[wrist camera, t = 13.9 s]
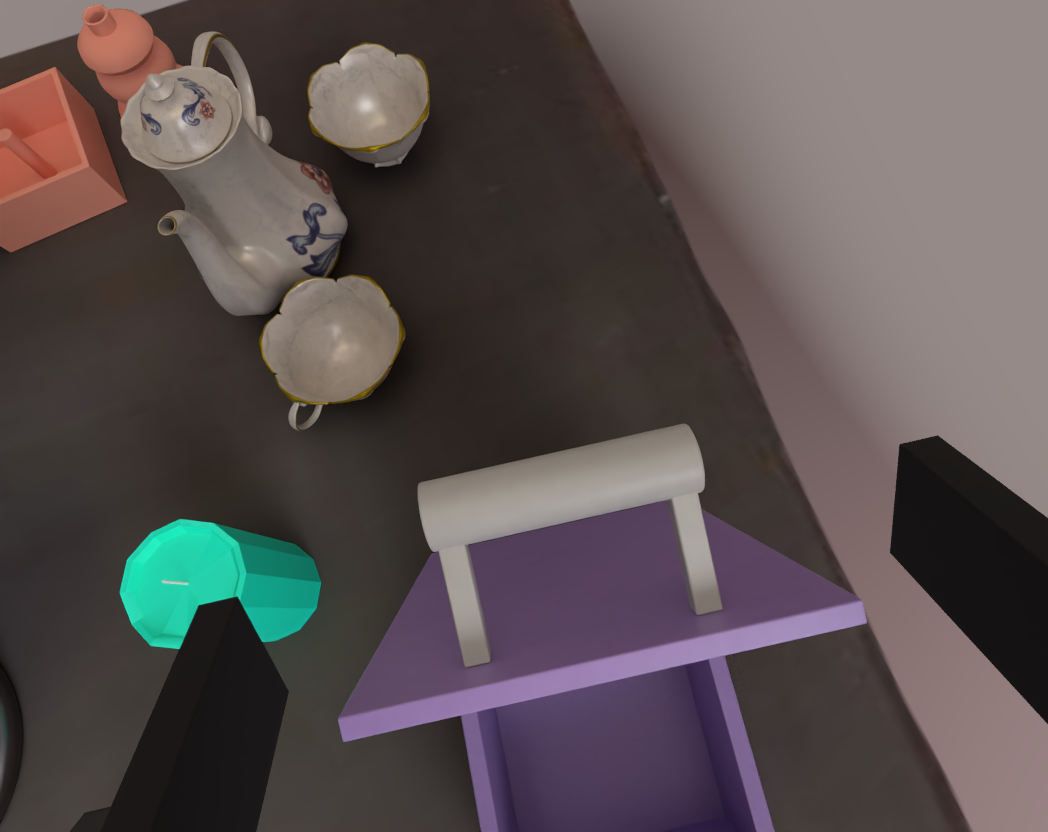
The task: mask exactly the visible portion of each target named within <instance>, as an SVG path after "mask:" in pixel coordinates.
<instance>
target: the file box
mask: <svg viewBox="0 0 1048 832" xmlns="http://www.w3.org/2000/svg"><path fill="white" fill-rule="evenodd" d="M461 720H462V726H463V732H464V738H465V743H466V749H467V755H468V761H469V766H470V772H471V778H472V784H473V789H474V795H475V801H476V807H477V812H478V818H479V824H480V830H481V832H775V831H774V827H773V824H772V820H771V817H770V813H769V810H768V806H767V803H766V799H765V796H764V792H763V789H762V785H761V782H760V778H759V775H758V771H757V768H756V764H755V761H754V757H753V754H752V750H751V747H750V743H749V740H748V736H747V733H746V729H745V726H744V722H743V719H742V715H741V712H740V708H739V705H738V701H737V698H736V694H735V691H734V687H733V684H732V680H731V677H730V673H729V669H728V666H727V662H726V659H725V656H720V657H716V658H712V659H707V660H703V661H698V662H694V663H690V664H685V665H681V666H676V667H672V668H668V669H663V670H659V671H654V672H650V673H645V674H641V675H637V676H632V677H628V678H623V679H619V680H615V681H610V682H606V683H601V684H597V685H593V686H588V687H584V688H579V689H575V690H570V691H566V692H562V693H557V694H553V695H548V696H544V697H540V698H535V699H531V700H526V701H522V702H518V703H513V704H509V705H504V706H500V707H495V708H491V709H487V710H482V711H478V712H473V713H469V714H465V715H461Z"/></svg>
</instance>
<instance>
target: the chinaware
mask: <svg viewBox="0 0 1048 832" xmlns="http://www.w3.org/2000/svg"><path fill="white" fill-rule="evenodd" d="M212 43H213V44H214V45H215V46H216V47H217V48H218V49H219V50H220V51H221V53H222V54H223V56H224V57H225V59H226V61H227V63H228V65H229V67H230V69H231V71H232V73H233V76H234V78H235V81H236V84H237V87H238V90H237V88H236V87H235V86H234V85H233V83H232V81H231V80H230V79H229V77H227V76H225V75H223V74H220V73H218V72H217V71H215V70H214V69H212V68H209V67H205V65H206V61H207V57H208V53H209V50H210V47H211V45H212ZM339 62H340V65H339V64H338V63H337V62H334V63H331V64H326V65H323V66H321V67H320V68H319V69H317V70H316V71H315V72H314V73H313V74H312V75H311V76H310V79H309V84H308V88H307V94H308V100H309V106H310V107H311V108H310V109H309V113H308V121H309V124H310V129H311V131H312V133H313V134H314V135H316V136H318V137H320V138H322V139H323V140H325V141H326V142H329V143H331V144H333V145H335V146H338V147H339V148H340V149H341V150H342V151H344V152H345V153H346V154H348V155H349V156H351V157H353V158H355V159H357V160H360V161H363V162H367V163H373V164H374V165H375V167H379V166H391V165H395V164H401V163H402V160H403V159H404V158H405V157H406V155H407V153H408V151H409V150H410V149H411V148H412V147H413V145H414V144H415V142H416V141H417V139H418V137H419V135H420V133H421V130H422V127H423V123H424V122H425V121H426V120H427V118H428V115H429V107H430V93H428V92H429V81H428V74H427V71H426V69H425V65H424V63H423V61H422V60H420V59H418V58H416V57H414V56H413V55H411V54H397V56H395V53H394V52H393V51H391V50H389V49H387V48H386V47H384V46H382V45H380V44H374V43H368V42H364V43H361V44H360V45H357V46H354V47H352V48H350V49H349V50H348V51H347V52H346V53H345V54H344V56H343V57H342V58H341V59H340V60H339ZM241 103H242V105H241ZM242 109H243V112H242ZM121 128H122V141H123V143H124V144H125V146H126V147H127V148H128V150H129V152H130V154H131V155H132V157H134V158H135V159H137V160H139V161H141V162H142V163H144V164H146V165H147V166H149V167H152V168H155V169H157V170H158V171H160V172H161V173H162V174H163V175H164V176H165V177H166V178H167V180H168V181H169V182H170V183H171V184H172V186H173V187H174V188H175V189H176V191H177V192H178V193H179V195H180V196H181V198H182V200H183V202H184V204H185V211H183V210H175V211H171V212H169V213H168V214H166V215H165V216H164V217H162V218H161V220H160V221H159V222H158V225H157V230H158V232H159V233H160V234H161V235H163V236H169V235H173V234H178V235H179V237H180V238H181V239H182V241H183V243H184V244H185V246H186V248H187V249H188V251H189V253H190V255H191V256H192V258H193V260H194V262H195V264H196V265H197V269H198V273H199V275H200V278H201V279H202V281H203V282H204V283H206V285H207V287H208V288H209V290H210V292H211V294H212V295H213V296H214V298H215V299H216V300H217V302H218V303H219V304H220V305H221V306H222V307H223V308H224V309H225V310H226V311H228V312H229V313H230V314H232V315H235V316H242V315H264V314H268V313H270V312H272V311H273V310H274V309H275V308H276V307H277V306H278V305H279V303H280V302H282V303H281V306H280V308H279V312H280V314H275V315H274V316H273V317H272V318H271V319H270V320H269V321H268V322H267V323H266V324H265V326H264V328H263V331H262V334H261V336H260V338H259V340H258V344H259V348H260V350H261V355H262V358H263V360H264V362H265V363H266V365H267V366H268V368H269V369H270V371H271V372H272V373H273V374H276V375H275V376H274V378H275V380H276V382H277V385H278V387H279V389H280V390H281V391H282V392H283V393H284V394H285V395H286V397H287V398H288V399H289V400H290V401H292V402H294V404H293V405H292V407H291V409H290V411H289V416H288V418H289V423H290V425H291V426H292V427H293V428H294V429H296V430H298V431H303V430H306V429H308V428H309V427H311V426H312V425H313V424H314V423H315V421H316V420H317V419H318V417H319V415H320V412H321V409H322V406H323V405H325V404H331V403H332V404H339V403H348V402H352V401H355V400H362V399H365V398H367V397H368V396H370V395H371V394H372V392H373V390H375V389H376V388H377V387H378V386H379V385H380V384H381V383H382V382H383V381H384V379H385V378H386V377H387V374H389V372H390V370H391V367H392V365H393V363H394V361H395V359H396V357H397V356H398V354H399V351H400V349H401V346H402V343H403V341H404V339H405V328H404V327H403V324H402V321H401V318H400V316H399V315H398V313H397V312H396V310H395V309H394V307H391V303H390V301H389V299H388V298H387V296H386V294H385V292H384V291H383V289H382V288H381V287H380V286H379V285H378V284H377V283H376V282H375V281H374V280H373V279H372V278H371V277H368V276H360V275H352V274H351V275H347V276H344V277H340V278H338V279H337V282H336V281H335V279H334V278H328V277H329V275H330V274H331V273H332V271H333V269H334V268H335V266H336V264H337V261H338V258H339V255H340V250H341V240H342V238H343V237H344V235H345V233H346V230H347V226H348V223H347V218H346V216H345V214H344V213H343V211H342V209H341V208H340V206H339V204H338V201H337V199H336V197H335V194H334V192H333V189H332V185H331V182H330V179H329V177H328V175H327V174H326V172H325V171H323V170H322V169H320V168H318V167H316V166H314V165H311V164H307V163H304V162H300V161H296V160H293V159H289V158H287V157H285V156H283V155H281V154H279V153H278V152H276V151H275V150H273V149H272V148H271V147H269V146H268V144H269V143H270V142H271V139H272V128H271V125H270V123H269V121H268V120H267V119H266V118H265V117H264V116H256V106H255V98H254V93H253V88H252V84H251V81H250V77H249V74H248V71H247V69H246V66H245V64H244V62H243V60H242V58H241V56H240V54H239V52H238V51H237V49H236V48H235V46H234V45H233V44H232V42H231V41H230V40H229V39H228V38H227V37H226V36H224V35H223V34H221V33H219V32H205V33H202V34H201V35H199V36H198V37H197V39H196V40H195V43H194V46H193V52H192V62H191V66H184V67H181V68H179V69H174V70H166V71H164V72H162V73H161V74H159V75H158V74H149V75H148V76H147V78H146V82H145V83H143V84H142V86H141V87H140V89H139V90H138V91H137V93H136V94H135V95H133V96H132V97H131V98H130V99H129V100H128V102H127V106H126V110H125V112H124V114H123V116H122V118H121ZM307 404H310V405H316V407H315V410H314V412H313V414H312V415H311V417H310V418H309V419H308V420H307V421H306V422H305V423H303V424H302V425H299V426H298V425H297V412H298V408H299V406H303V407H305V406H307Z"/></svg>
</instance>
